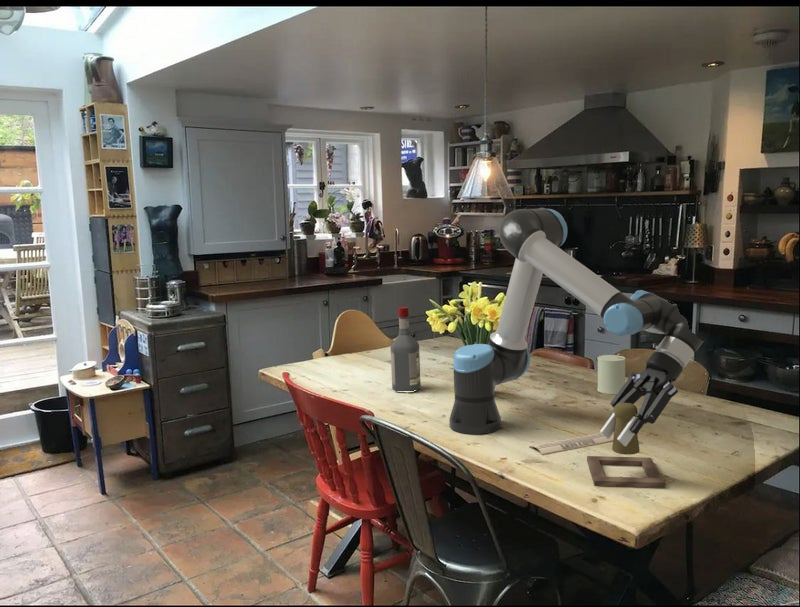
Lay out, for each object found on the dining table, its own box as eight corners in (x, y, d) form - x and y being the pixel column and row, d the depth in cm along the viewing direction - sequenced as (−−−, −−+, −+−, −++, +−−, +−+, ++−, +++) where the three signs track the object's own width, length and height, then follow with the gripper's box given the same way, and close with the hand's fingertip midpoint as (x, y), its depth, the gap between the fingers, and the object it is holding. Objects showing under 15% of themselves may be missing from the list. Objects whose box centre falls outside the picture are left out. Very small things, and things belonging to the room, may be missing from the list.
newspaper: (602, 436, 177) (602, 430, 176) (620, 444, 170) (620, 437, 170) (529, 450, 168) (529, 443, 168) (544, 459, 162) (544, 452, 162)
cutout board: (594, 485, 143) (594, 480, 143) (586, 460, 158) (586, 455, 158) (665, 488, 141) (665, 482, 140) (650, 462, 155) (650, 457, 155)
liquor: (390, 392, 227) (387, 309, 224) (398, 386, 236) (394, 305, 232) (415, 393, 225) (412, 309, 221) (422, 387, 233) (419, 305, 229)
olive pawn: (622, 456, 145) (622, 409, 143) (606, 447, 150) (606, 402, 149) (645, 452, 146) (645, 405, 145) (629, 443, 152) (629, 399, 150)
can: (625, 395, 213) (625, 359, 211) (596, 393, 216) (596, 358, 214) (625, 387, 221) (625, 353, 220) (597, 386, 224) (597, 353, 223)
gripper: (708, 377, 143) (650, 461, 139) (649, 362, 160) (596, 436, 156) (690, 357, 141) (631, 441, 137) (632, 344, 157) (578, 418, 154)
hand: (612, 438), depth 146 cm, fingers closed on olive pawn, 5 cm apart
